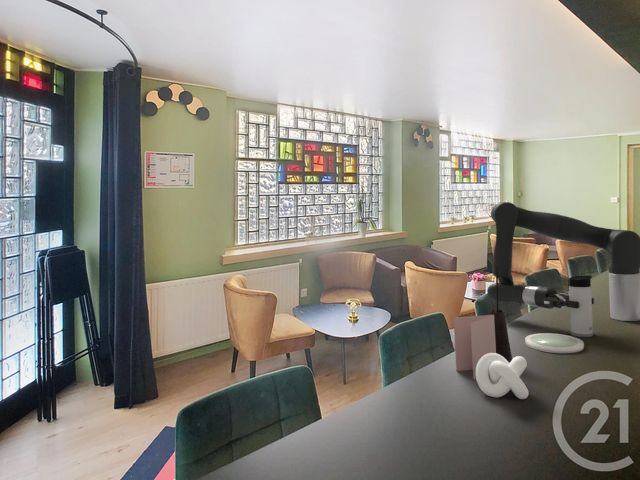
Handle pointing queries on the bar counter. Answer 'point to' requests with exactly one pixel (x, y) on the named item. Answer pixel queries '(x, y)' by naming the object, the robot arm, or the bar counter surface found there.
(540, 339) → the plate
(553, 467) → the bar counter surface
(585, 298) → the travel mug
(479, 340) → the greeting card
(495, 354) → the white decorative knot
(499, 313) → the butter churn
